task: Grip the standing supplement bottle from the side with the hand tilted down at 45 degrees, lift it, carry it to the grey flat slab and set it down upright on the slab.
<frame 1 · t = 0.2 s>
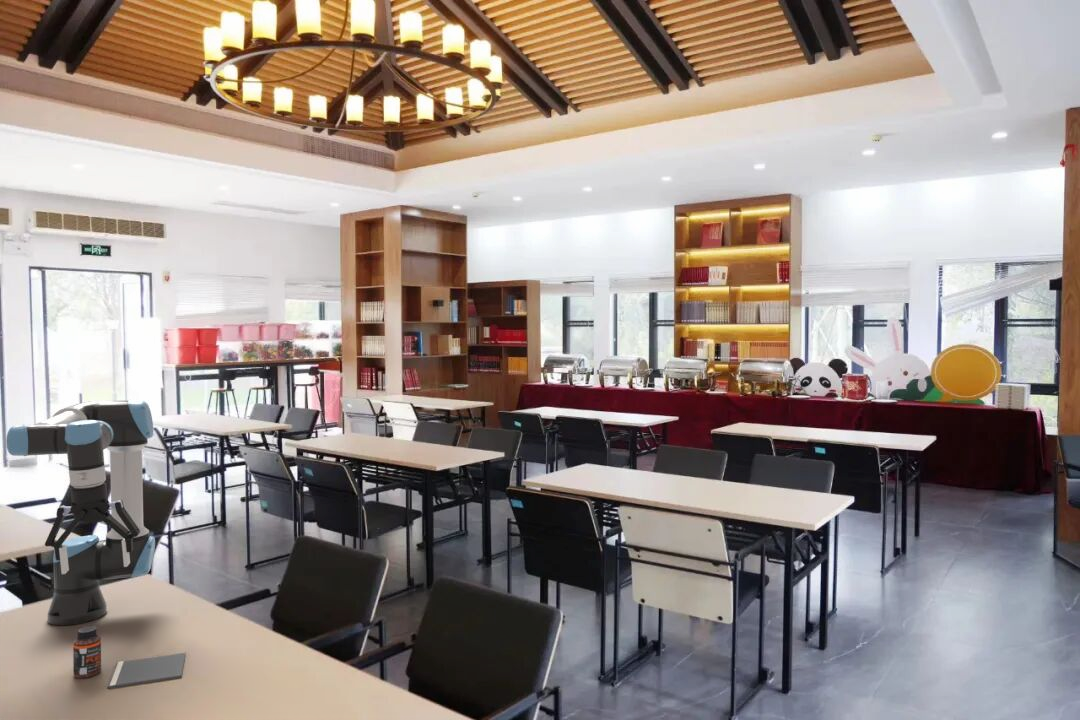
hand: (96, 568, 184), 27 cm above the table, tool pointing down, fingers open, 13 cm apart
grey flat slab: (148, 671, 188), on the table
supplement bottle: (87, 674, 187), on the table
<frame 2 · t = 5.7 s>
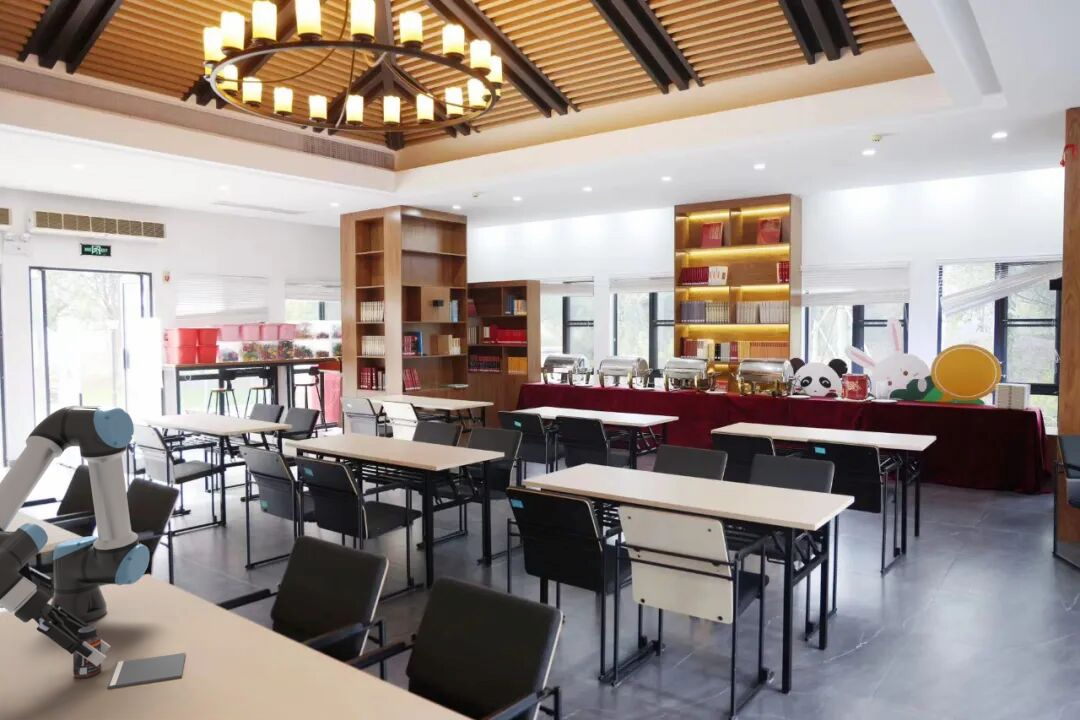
hand: (103, 655, 188), 4 cm above the table, tool tilted 45°, fingers closed on supplement bottle, 6 cm apart
supplement bottle: (87, 674, 187), on the table, touching gripper
when the fingers open (6 cm above the table, at t = 10.9 s): supplement bottle drops 1 cm, resting on grey flat slab.
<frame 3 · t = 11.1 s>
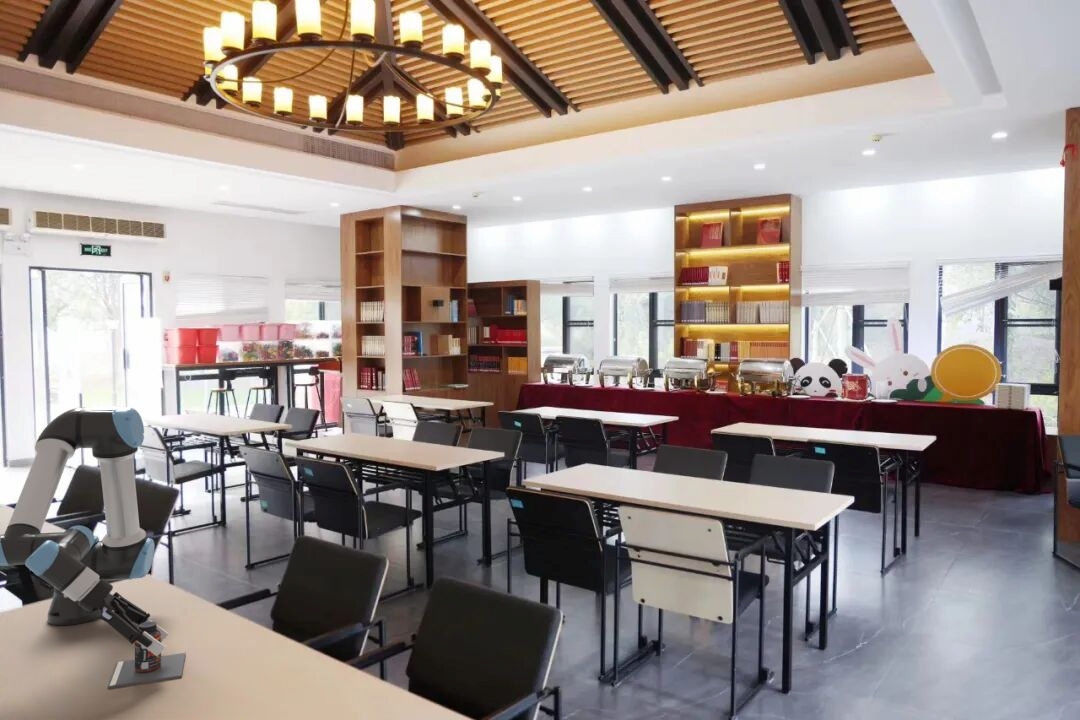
hand: (162, 644, 189), 6 cm above the table, tool tilted 45°, fingers open, 8 cm apart
supplement bottle: (148, 669, 189), resting on grey flat slab
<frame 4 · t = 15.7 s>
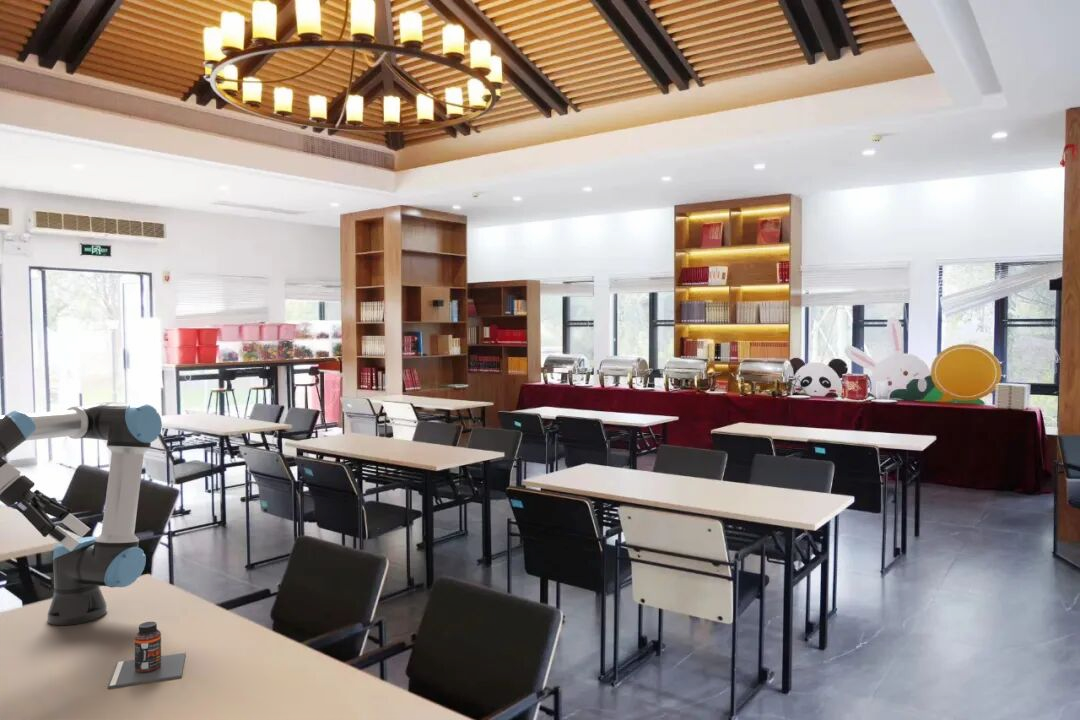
hand: (81, 539, 190), 33 cm above the table, tool tilted 45°, fingers open, 13 cm apart
nothing on the table moved.
at the end: supplement bottle inside the target area on the grey flat slab (0.2 cm from its centre), point 0.4 cm above the grey flat slab's base; supplement bottle tilted 0°; the gripper is holding nothing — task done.
